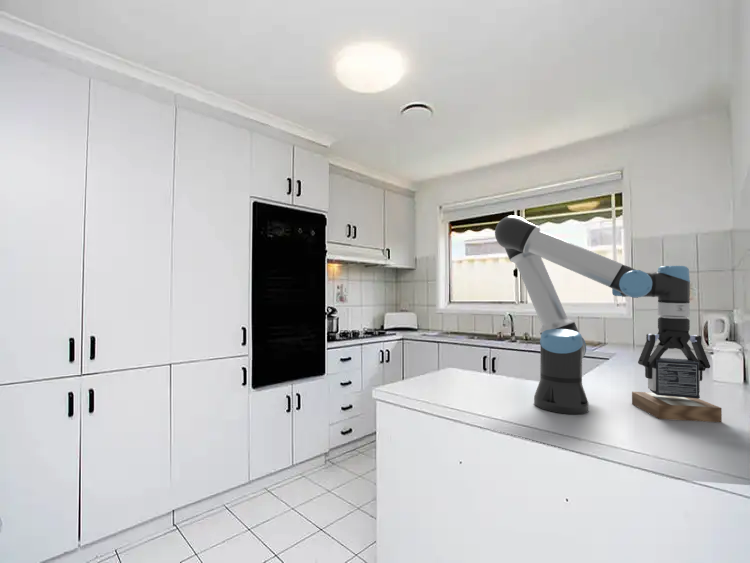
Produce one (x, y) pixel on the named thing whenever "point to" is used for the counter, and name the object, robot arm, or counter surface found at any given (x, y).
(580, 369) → the robot arm
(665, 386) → the small box
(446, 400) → the counter surface
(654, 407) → the wooden block
